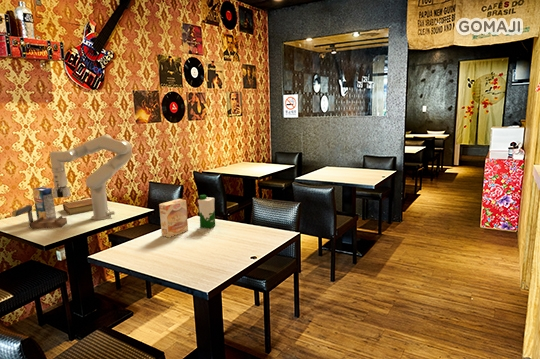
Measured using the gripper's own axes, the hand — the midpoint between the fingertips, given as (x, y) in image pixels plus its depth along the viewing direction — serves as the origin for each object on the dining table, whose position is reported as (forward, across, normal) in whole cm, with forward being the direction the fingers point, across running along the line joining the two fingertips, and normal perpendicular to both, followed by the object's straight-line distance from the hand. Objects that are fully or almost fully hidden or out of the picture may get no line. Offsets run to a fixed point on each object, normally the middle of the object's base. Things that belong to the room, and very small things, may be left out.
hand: (62, 196), depth 257 cm
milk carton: (+17, -31, -98) cm, 104 cm away
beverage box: (+17, +4, +14) cm, 23 cm away
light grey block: (0, 0, 0) cm, 0 cm away
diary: (+18, +27, -2) cm, 32 cm away
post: (+17, -12, +16) cm, 26 cm away
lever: (+6, -18, +17) cm, 25 cm away
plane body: (+17, -12, +5) cm, 21 cm away
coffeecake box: (+17, -40, -79) cm, 90 cm away
